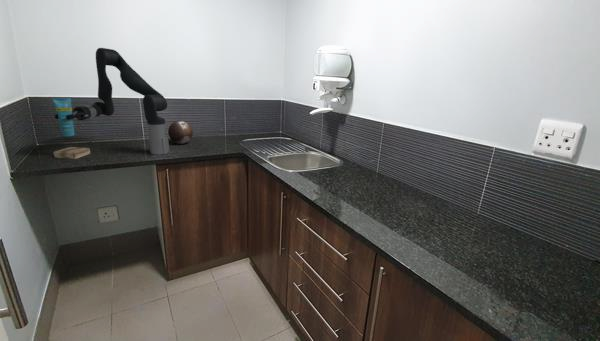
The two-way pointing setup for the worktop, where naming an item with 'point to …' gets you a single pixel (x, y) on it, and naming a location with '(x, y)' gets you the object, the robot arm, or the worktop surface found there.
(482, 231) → the worktop surface
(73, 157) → the plinth
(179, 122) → the wooden sphere
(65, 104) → the tube
